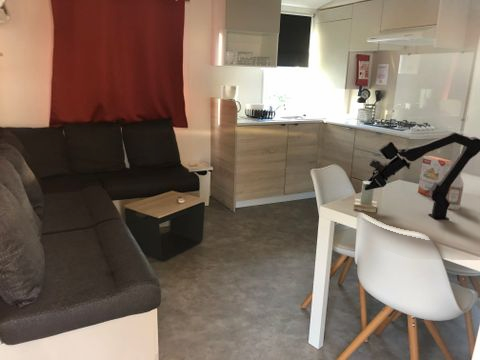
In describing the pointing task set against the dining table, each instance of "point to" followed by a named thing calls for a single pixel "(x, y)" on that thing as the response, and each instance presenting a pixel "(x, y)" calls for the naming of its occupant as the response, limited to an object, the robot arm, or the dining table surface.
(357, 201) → the birch block
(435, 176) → the cracker box
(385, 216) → the dining table surface
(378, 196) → the dining table surface
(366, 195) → the tea tin
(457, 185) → the bath foam
